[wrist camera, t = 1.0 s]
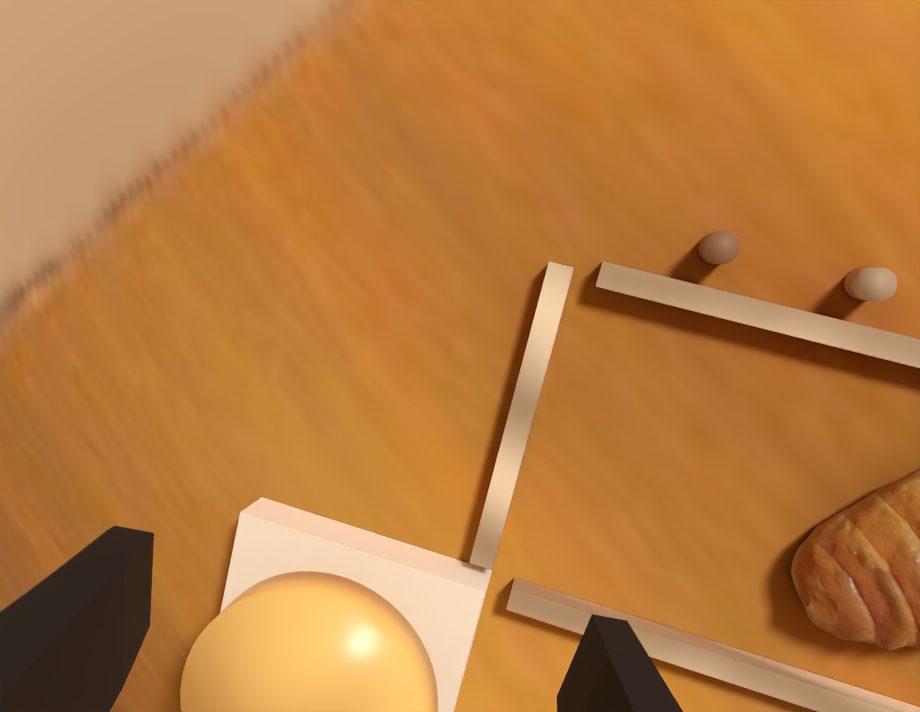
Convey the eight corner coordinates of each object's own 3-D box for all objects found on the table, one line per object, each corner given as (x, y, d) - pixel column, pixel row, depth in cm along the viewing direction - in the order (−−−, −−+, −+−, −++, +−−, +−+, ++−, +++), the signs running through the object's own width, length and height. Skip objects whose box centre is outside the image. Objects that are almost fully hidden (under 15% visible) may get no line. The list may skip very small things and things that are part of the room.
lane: (1025, 765, 27) (1052, 796, 25) (464, 584, 30) (458, 601, 29) (1206, 347, 24) (1249, 353, 23) (567, 197, 27) (565, 193, 26)
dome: (418, 797, 30) (393, 875, 26) (213, 721, 32) (160, 784, 28) (472, 593, 29) (454, 644, 25) (254, 522, 30) (204, 559, 26)
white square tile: (433, 786, 32) (423, 820, 30) (218, 706, 33) (195, 733, 31) (492, 570, 30) (485, 591, 28) (261, 497, 32) (240, 512, 30)
